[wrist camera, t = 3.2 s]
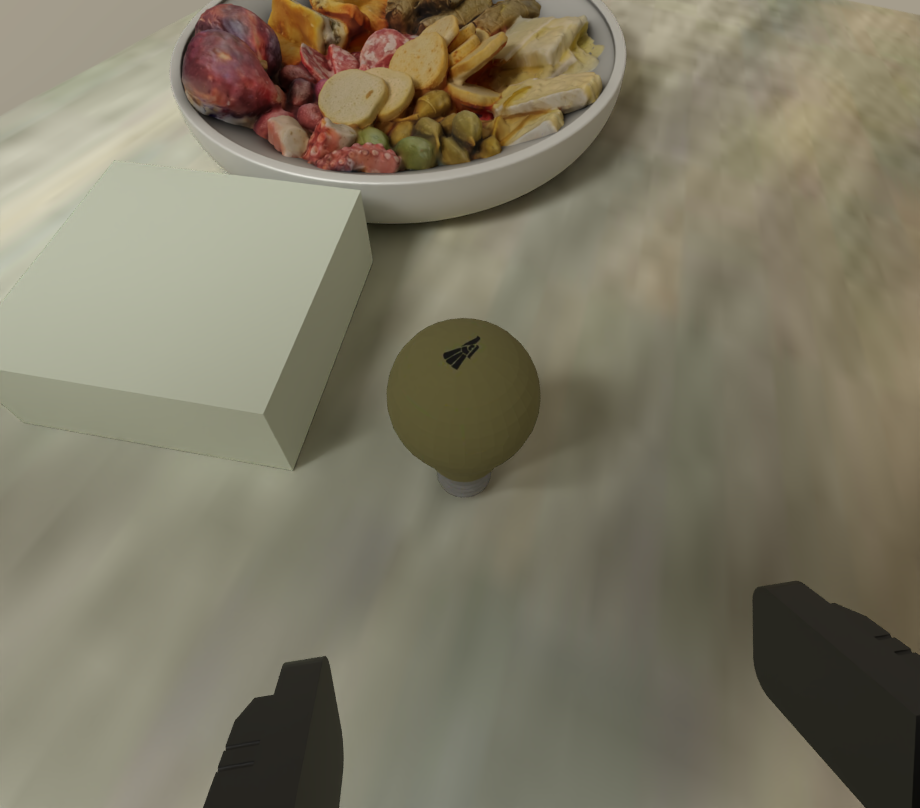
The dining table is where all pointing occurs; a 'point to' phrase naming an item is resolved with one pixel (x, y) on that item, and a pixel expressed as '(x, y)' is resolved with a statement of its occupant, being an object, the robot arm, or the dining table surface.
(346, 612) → the dining table surface
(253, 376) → the block
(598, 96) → the bowl
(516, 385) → the light bulb
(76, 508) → the dining table surface
